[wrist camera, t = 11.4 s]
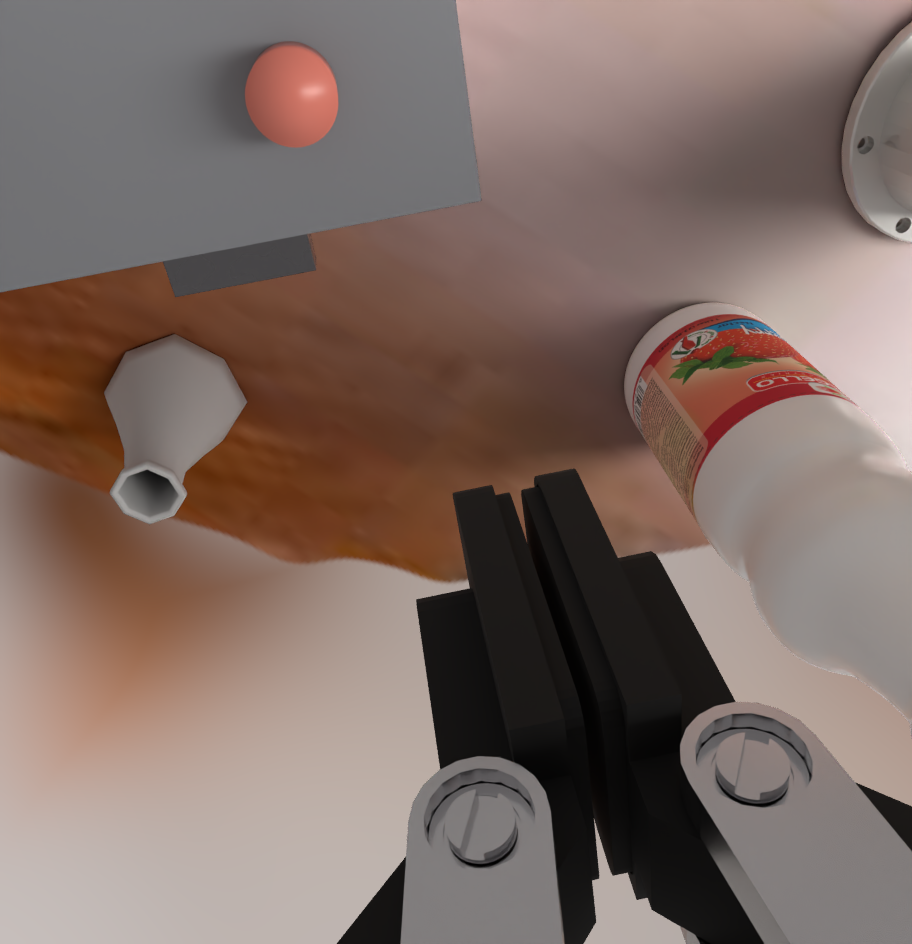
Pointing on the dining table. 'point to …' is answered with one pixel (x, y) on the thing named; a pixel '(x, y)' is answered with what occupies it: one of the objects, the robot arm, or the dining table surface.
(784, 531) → the fruit juice
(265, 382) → the dining table surface
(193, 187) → the lid
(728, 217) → the dining table surface
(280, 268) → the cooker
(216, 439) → the flask
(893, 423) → the dining table surface
